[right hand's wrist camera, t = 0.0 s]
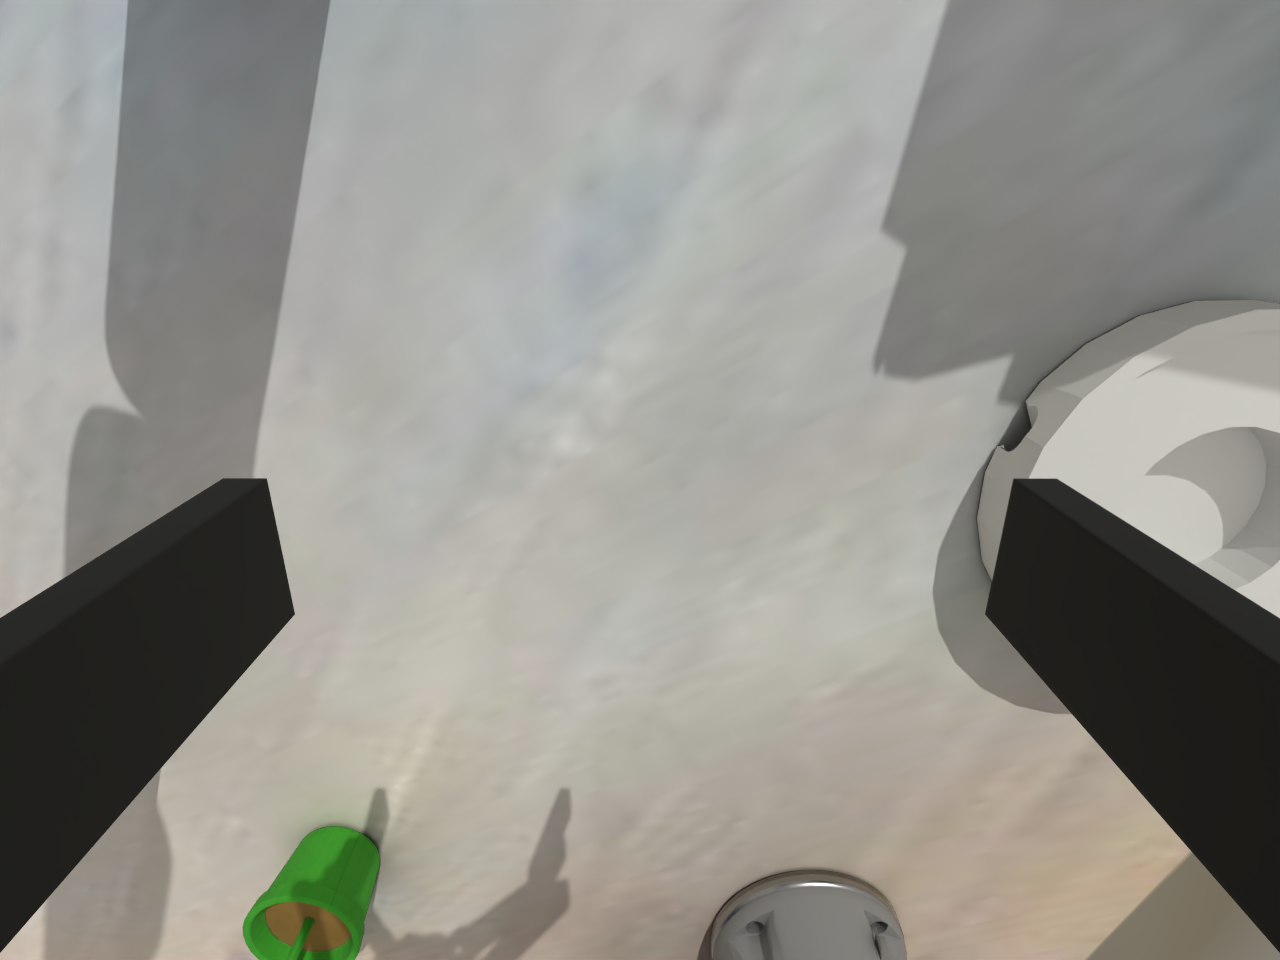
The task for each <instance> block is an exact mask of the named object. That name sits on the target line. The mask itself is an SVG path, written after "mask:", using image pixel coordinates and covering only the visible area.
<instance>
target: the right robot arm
mask: <svg viewBox="0 0 1280 960" xmlns="http://www.w3.org/2000/svg"><path fill="white" fill-rule="evenodd" d="M294 614H295V613H294V608H293V603H292V598H291V593H290V589H289V584H288V579H287V574H286V569H285V564H284V560H283V555H282V550H281V545H280V540H279V535H278V531H277V526H276V521H275V516H274V511H273V506H272V502H271V497H270V492H269V487H268V482H267V479H222V480H220V481H218V482H217V483H215V484H214V485H212V486H210V487H209V488H207V489H206V490H204V491H202V492H201V493H199V494H198V495H196V496H194V497H193V498H191V499H190V500H188V501H186V502H185V503H183V504H182V505H180V506H179V507H177V508H175V509H174V510H172V511H171V512H169V513H167V514H166V515H164V516H163V517H161V518H159V519H158V520H156V521H155V522H153V523H151V524H150V525H148V526H147V527H145V528H143V529H142V530H140V531H139V532H137V533H135V534H134V535H132V536H131V537H129V538H127V539H126V540H124V541H123V542H121V543H119V544H118V545H116V546H115V547H113V548H111V549H110V550H108V551H107V552H105V553H103V554H102V555H100V556H99V557H97V558H95V559H94V560H92V561H91V562H89V563H88V564H86V565H84V566H83V567H81V568H80V569H78V570H76V571H75V572H73V573H72V574H70V575H68V576H67V577H65V578H64V579H62V580H60V581H59V582H57V583H56V584H54V585H52V586H51V587H49V588H48V589H46V590H44V591H43V592H41V593H40V594H38V595H36V596H35V597H33V598H32V599H30V600H28V601H27V602H25V603H24V604H22V605H20V606H19V607H17V608H16V609H14V610H12V611H11V612H9V613H8V614H6V615H5V616H3V617H1V618H0V952H1V951H2V950H3V949H4V948H5V947H6V945H7V944H8V943H9V942H10V941H11V940H12V939H13V937H14V936H15V935H16V934H17V933H18V932H19V931H20V929H21V928H22V927H23V926H24V925H25V924H26V922H27V921H28V920H29V919H30V918H31V917H32V916H33V914H34V913H35V912H36V911H37V910H38V909H39V908H40V906H41V905H42V904H43V903H44V902H45V901H46V899H47V898H48V897H49V896H50V895H51V894H52V893H53V891H54V890H55V889H56V888H57V887H58V886H59V885H60V883H61V882H62V881H63V880H64V879H65V878H66V877H67V875H68V874H69V873H70V872H71V871H72V870H73V868H74V867H75V866H76V865H77V864H78V863H79V862H80V860H81V859H82V858H83V857H84V856H85V855H86V854H87V852H88V851H89V850H90V849H91V848H92V847H93V845H94V844H95V843H96V842H97V841H98V840H99V839H100V837H101V836H102V835H103V834H104V833H105V832H106V831H107V829H108V828H109V827H110V826H111V825H112V824H113V822H114V821H115V820H116V819H117V818H118V817H119V816H120V814H121V813H122V812H123V811H124V810H125V809H126V808H127V806H128V805H129V804H130V803H131V802H132V801H133V800H134V798H135V797H136V796H137V795H138V794H139V793H140V791H141V790H142V789H143V788H144V787H145V786H146V785H147V783H148V782H149V781H150V780H151V779H152V778H153V777H154V775H155V774H156V773H157V772H158V771H159V770H160V768H161V767H162V766H163V765H164V764H165V763H166V762H167V760H168V759H169V758H170V757H171V756H172V755H173V754H174V752H175V751H176V750H177V749H178V748H179V747H180V745H181V744H182V743H183V742H184V741H185V740H186V739H187V737H188V736H189V735H190V734H191V733H192V732H193V731H194V729H195V728H196V727H197V726H198V725H199V724H200V723H201V721H202V720H203V719H204V718H205V717H206V716H207V714H208V713H209V712H210V711H211V710H212V709H213V708H214V706H215V705H216V704H217V703H218V702H219V701H220V700H221V698H222V697H223V696H224V695H225V694H226V693H227V691H228V690H229V689H230V688H231V687H232V686H233V685H234V683H235V682H236V681H237V680H238V679H239V678H240V677H241V675H242V674H243V673H244V672H245V671H246V670H247V668H248V667H249V666H250V665H251V664H252V663H253V662H254V660H255V659H256V658H257V657H258V656H259V655H260V654H261V652H262V651H263V650H264V649H265V648H266V647H267V646H268V644H269V643H270V642H271V641H272V640H273V639H274V637H275V636H276V635H277V634H278V633H279V632H280V631H281V629H282V628H283V627H284V626H285V625H286V624H287V623H288V621H289V620H290V619H291V618H292V617H293V616H294ZM985 614H986V616H987V617H988V618H989V619H990V620H991V621H992V623H993V624H994V625H995V626H996V627H997V628H998V629H999V631H1000V632H1001V633H1002V634H1003V635H1004V636H1005V637H1006V639H1007V640H1008V641H1009V642H1010V643H1011V644H1012V646H1013V647H1014V648H1015V649H1016V650H1017V651H1018V652H1019V654H1020V655H1021V656H1022V657H1023V658H1024V659H1025V660H1026V662H1027V663H1028V664H1029V665H1030V666H1031V667H1032V668H1033V670H1034V671H1035V672H1036V673H1037V674H1038V675H1039V677H1040V678H1041V679H1042V680H1043V681H1044V682H1045V683H1046V685H1047V686H1048V687H1049V688H1050V689H1051V690H1052V691H1053V693H1054V694H1055V695H1056V696H1057V697H1058V698H1059V700H1060V701H1061V702H1062V703H1063V704H1064V705H1065V706H1066V708H1067V709H1068V710H1069V711H1070V712H1071V713H1072V714H1073V716H1074V717H1075V718H1076V719H1077V720H1078V721H1079V723H1080V724H1081V725H1082V726H1083V727H1084V728H1085V729H1086V731H1087V732H1088V733H1089V734H1090V735H1091V736H1092V737H1093V739H1094V740H1095V741H1096V742H1097V743H1098V744H1099V745H1100V747H1101V748H1102V749H1103V750H1104V751H1105V752H1106V754H1107V755H1108V756H1109V757H1110V758H1111V759H1112V760H1113V762H1114V763H1115V764H1116V765H1117V766H1118V767H1119V768H1120V770H1121V771H1122V772H1123V773H1124V774H1125V775H1126V777H1127V778H1128V779H1129V780H1130V781H1131V782H1132V783H1133V785H1134V786H1135V787H1136V788H1137V789H1138V790H1139V791H1140V793H1141V794H1142V795H1143V796H1144V797H1145V798H1146V800H1147V801H1148V802H1149V803H1150V804H1151V805H1152V806H1153V808H1154V809H1155V810H1156V811H1157V812H1158V813H1159V814H1160V816H1161V817H1162V818H1163V819H1164V820H1165V821H1166V822H1167V824H1168V825H1169V826H1170V827H1171V828H1172V829H1173V831H1174V832H1175V833H1176V834H1177V835H1178V836H1179V837H1180V839H1181V840H1182V841H1183V842H1184V843H1185V844H1186V845H1187V847H1188V848H1189V849H1190V850H1191V851H1192V852H1193V854H1194V855H1195V856H1196V857H1197V858H1198V859H1199V860H1200V861H1201V863H1202V864H1203V865H1204V866H1205V867H1206V868H1207V870H1208V871H1209V872H1210V873H1211V874H1212V875H1213V877H1214V878H1215V879H1216V880H1217V881H1218V882H1219V883H1220V885H1221V886H1222V887H1223V888H1224V889H1225V890H1226V891H1227V893H1228V894H1229V895H1230V896H1231V897H1232V898H1233V899H1234V901H1235V902H1236V903H1237V904H1238V905H1239V906H1240V908H1241V909H1242V910H1243V911H1244V912H1245V913H1246V914H1247V916H1248V917H1249V918H1250V919H1251V920H1252V921H1253V922H1254V924H1255V925H1256V926H1257V927H1258V928H1259V929H1260V931H1261V932H1262V933H1263V934H1264V935H1265V936H1266V937H1267V939H1268V940H1269V941H1270V942H1271V943H1272V944H1273V945H1274V947H1275V948H1276V949H1277V950H1278V951H1279V952H1280V618H1279V617H1277V616H1275V615H1274V614H1272V613H1271V612H1269V611H1268V610H1266V609H1264V608H1263V607H1261V606H1260V605H1258V604H1256V603H1255V602H1253V601H1252V600H1250V599H1248V598H1247V597H1245V596H1244V595H1242V594H1240V593H1239V592H1237V591H1236V590H1234V589H1232V588H1231V587H1229V586H1228V585H1226V584H1224V583H1223V582H1221V581H1220V580H1218V579H1216V578H1215V577H1213V576H1212V575H1210V574H1208V573H1207V572H1205V571H1204V570H1202V569H1200V568H1199V567H1197V566H1196V565H1194V564H1192V563H1191V562H1189V561H1188V560H1186V559H1185V558H1183V557H1181V556H1180V555H1178V554H1177V553H1175V552H1173V551H1172V550H1170V549H1169V548H1167V547H1165V546H1164V545H1162V544H1161V543H1159V542H1157V541H1156V540H1154V539H1153V538H1151V537H1149V536H1148V535H1146V534H1145V533H1143V532H1141V531H1140V530H1138V529H1137V528H1135V527H1133V526H1132V525H1130V524H1129V523H1127V522H1125V521H1124V520H1122V519H1121V518H1119V517H1117V516H1116V515H1114V514H1113V513H1111V512H1109V511H1108V510H1106V509H1105V508H1103V507H1101V506H1100V505H1098V504H1097V503H1095V502H1094V501H1092V500H1090V499H1089V498H1087V497H1086V496H1084V495H1082V494H1081V493H1079V492H1078V491H1076V490H1074V489H1073V488H1071V487H1070V486H1068V485H1066V484H1065V483H1063V482H1062V481H1060V480H1058V479H1013V482H1012V487H1011V492H1010V497H1009V502H1008V506H1007V511H1006V516H1005V521H1004V526H1003V531H1002V535H1001V540H1000V545H999V550H998V555H997V560H996V564H995V569H994V574H993V579H992V584H991V589H990V593H989V598H988V603H987V608H986V613H985ZM710 946H711V957H712V960H907V954H906V947H905V942H904V936H903V933H902V930H901V927H900V924H899V921H898V919H897V916H896V913H895V911H894V909H893V907H892V905H891V904H890V902H889V901H888V900H887V899H886V898H885V896H884V895H883V894H881V893H880V892H879V891H878V890H877V889H875V888H874V887H873V886H871V885H869V884H868V883H866V882H864V881H862V880H860V879H858V878H855V877H852V876H849V875H846V874H842V873H837V872H832V871H823V870H802V871H793V872H787V873H782V874H778V875H774V876H771V877H768V878H765V879H763V880H761V881H758V882H756V883H754V884H752V885H750V886H748V887H747V888H745V889H743V890H742V891H740V892H739V893H738V894H736V895H735V896H734V897H733V898H732V899H731V900H729V901H728V902H727V904H726V905H725V906H724V907H723V908H722V910H721V911H720V912H719V914H718V916H717V917H716V919H715V922H714V924H713V927H712V931H711V937H710Z"/></svg>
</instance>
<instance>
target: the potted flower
mask: <svg viewBox="0 0 1280 960" xmlns="http://www.w3.org/2000/svg"><path fill="white" fill-rule="evenodd" d="M379 867H380V857H379V853H378V850H377V848H376V846H375V845H374V844H373V843H372V841H371V840H370V839H368V838H367V837H366V836H365V835H363V834H361V833H360V832H357V831H355V830H353V829H349V828H346V827H339V826H329V827H323V828H320V829H317V830H315V831H313V832H311V833H310V834H308V835H307V836H306V837H305V838H304V839H303V840H302V841H301V843H300V844H299V846H298V847H297V848H296V850H295V851H294V853H293V854H292V856H291V857H290V859H289V860H288V862H287V863H286V864H285V866H284V867H283V869H282V870H281V872H280V873H279V875H278V876H277V878H276V879H275V880H274V882H273V883H272V885H271V886H270V888H269V889H268V891H266V892H265V893H264V894H263V895H262V896H260V897H259V899H258V900H257V901H256V903H255V904H254V906H253V907H252V909H251V910H250V912H249V913H248V915H247V916H246V918H245V920H244V924H243V936H244V939H245V942H246V944H247V946H248V948H249V949H250V951H251V952H252V953H253V954H254V955H255V956H256V957H257V958H258V959H259V960H355V958H356V957H357V955H358V952H359V949H360V946H361V942H362V938H363V934H364V920H365V917H366V913H367V910H368V906H369V902H370V899H371V895H372V892H373V888H374V885H375V881H376V877H377V874H378V870H379Z"/></svg>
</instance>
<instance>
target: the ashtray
mask: <svg viewBox="0 0 1280 960" xmlns="http://www.w3.org/2000/svg"><path fill="white" fill-rule="evenodd" d="M1026 405H1027V410H1028V414H1029V418H1030V422H1031V426H1032V428H1031V430H1030V431H1029V432H1028V433H1027V435H1026V436H1025V437H1024V438H1023V440H1022V441H1021V443H1020V444H1019V445H1018V446H1017V447H1016V448H1015V449H1014V450H1012V451H1010V452H1008V451H1006V450H1005V448H1004V445H1002V446H997V448H996V450H995V452H994V454H993V456H992V459H991V461H990V463H989V465H988V467H987V469H986V472H985V476H984V481H983V487H982V493H981V498H980V504H979V510H978V516H977V523H978V531H979V540H980V548H981V556H982V561H983V564H984V566H985V568H986V570H987V572H988V574H989V576H990V578H991V581H992V579H993V574H994V569H995V564H996V560H997V555H998V550H999V545H1000V540H1001V535H1002V531H1003V526H1004V521H1005V516H1006V511H1007V506H1008V502H1009V497H1010V492H1011V487H1012V482H1013V479H1058V480H1060V481H1062V482H1063V483H1065V484H1066V485H1068V486H1070V487H1071V488H1073V489H1074V490H1076V491H1078V492H1079V493H1081V494H1082V495H1084V496H1086V497H1087V498H1089V499H1090V500H1092V501H1094V502H1095V503H1097V504H1098V505H1100V506H1101V507H1103V508H1105V509H1106V510H1108V511H1109V512H1111V513H1113V514H1114V515H1116V516H1117V517H1119V518H1121V519H1122V520H1124V521H1125V522H1127V523H1129V524H1130V525H1132V526H1133V527H1135V528H1137V529H1138V530H1140V531H1141V532H1143V533H1145V534H1146V535H1148V536H1149V537H1151V538H1153V539H1154V540H1156V541H1157V542H1159V543H1161V544H1162V545H1164V546H1165V547H1167V548H1169V549H1170V550H1172V551H1173V552H1175V553H1177V554H1178V555H1180V556H1181V557H1183V558H1185V559H1186V560H1188V561H1189V562H1191V563H1192V564H1194V565H1196V566H1197V567H1199V568H1200V569H1202V570H1204V571H1205V572H1207V573H1208V574H1210V575H1212V576H1213V577H1215V578H1216V579H1218V580H1220V581H1221V582H1223V583H1224V584H1226V585H1228V586H1229V587H1231V588H1232V589H1234V590H1236V591H1237V592H1239V593H1240V594H1242V595H1244V596H1245V597H1247V598H1248V599H1250V600H1252V601H1253V602H1255V603H1256V604H1258V605H1260V606H1261V607H1263V608H1264V609H1266V610H1268V611H1269V612H1271V613H1272V614H1274V615H1275V616H1277V617H1279V618H1280V304H1279V303H1272V302H1264V301H1257V300H1200V301H1193V302H1189V303H1185V304H1181V305H1178V306H1174V307H1170V308H1167V309H1163V310H1159V311H1155V312H1152V313H1148V314H1144V315H1141V316H1138V317H1136V318H1134V319H1132V320H1131V321H1129V322H1127V323H1125V324H1123V325H1121V326H1119V327H1117V328H1115V329H1113V330H1112V331H1110V332H1108V333H1106V334H1104V335H1102V336H1100V337H1098V338H1096V339H1095V340H1093V341H1091V342H1089V343H1087V344H1085V345H1084V346H1083V347H1082V348H1081V349H1079V350H1078V351H1077V352H1076V353H1075V354H1074V355H1072V356H1071V357H1070V358H1069V359H1068V360H1066V361H1065V362H1064V363H1063V364H1062V365H1060V366H1059V367H1058V368H1057V369H1056V370H1054V371H1053V372H1052V373H1051V374H1050V375H1048V376H1047V377H1046V378H1045V379H1044V380H1042V381H1041V382H1040V384H1039V385H1038V386H1037V387H1036V389H1035V390H1034V391H1033V393H1032V394H1031V395H1030V396H1029V398H1028V399H1027V400H1026Z"/></svg>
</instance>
